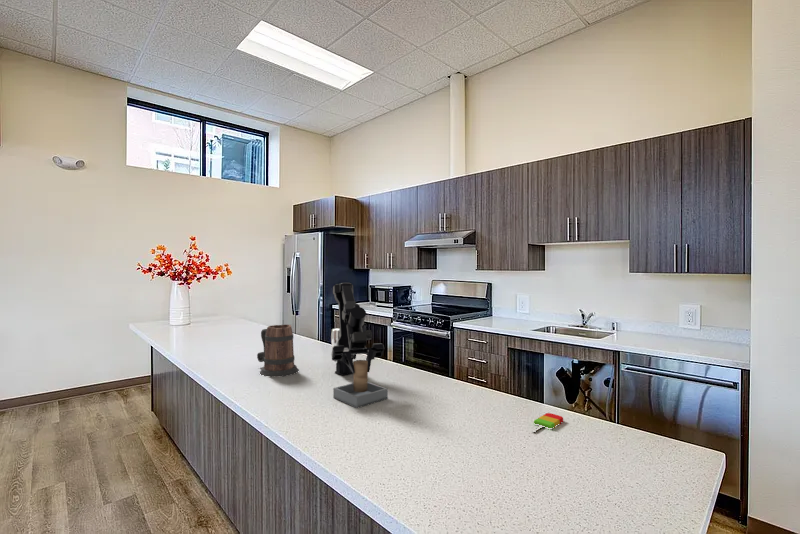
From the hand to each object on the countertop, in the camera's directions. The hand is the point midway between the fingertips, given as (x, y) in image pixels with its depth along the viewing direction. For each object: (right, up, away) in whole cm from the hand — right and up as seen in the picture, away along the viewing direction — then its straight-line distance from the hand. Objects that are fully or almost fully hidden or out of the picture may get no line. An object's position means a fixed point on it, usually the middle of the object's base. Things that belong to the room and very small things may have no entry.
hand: (361, 372), depth 140 cm
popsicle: (+56, -11, -22) cm, 61 cm away
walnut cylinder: (0, -7, +1) cm, 7 cm away
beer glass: (-17, -9, +58) cm, 61 cm away
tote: (0, -10, +1) cm, 10 cm away
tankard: (-42, -9, +38) cm, 57 cm away
